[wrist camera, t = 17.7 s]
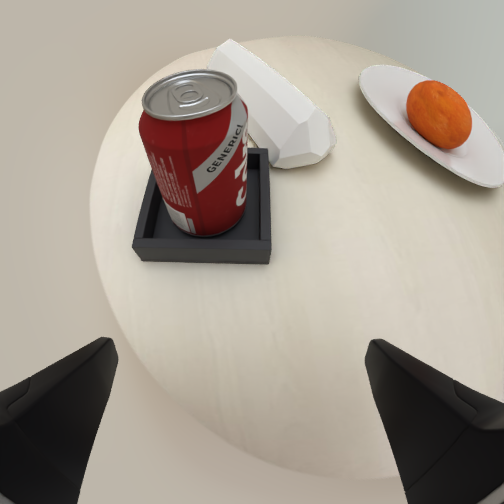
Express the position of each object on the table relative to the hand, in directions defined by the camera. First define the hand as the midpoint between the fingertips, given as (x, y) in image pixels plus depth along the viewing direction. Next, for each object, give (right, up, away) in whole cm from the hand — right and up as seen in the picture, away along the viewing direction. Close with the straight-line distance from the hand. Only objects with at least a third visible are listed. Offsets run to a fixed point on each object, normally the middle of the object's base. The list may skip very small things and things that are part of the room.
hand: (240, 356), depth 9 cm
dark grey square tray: (-4, +7, +16) cm, 18 cm away
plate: (+29, +23, +25) cm, 44 cm away
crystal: (+1, +21, +23) cm, 31 cm away
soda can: (-4, +7, +16) cm, 18 cm away
